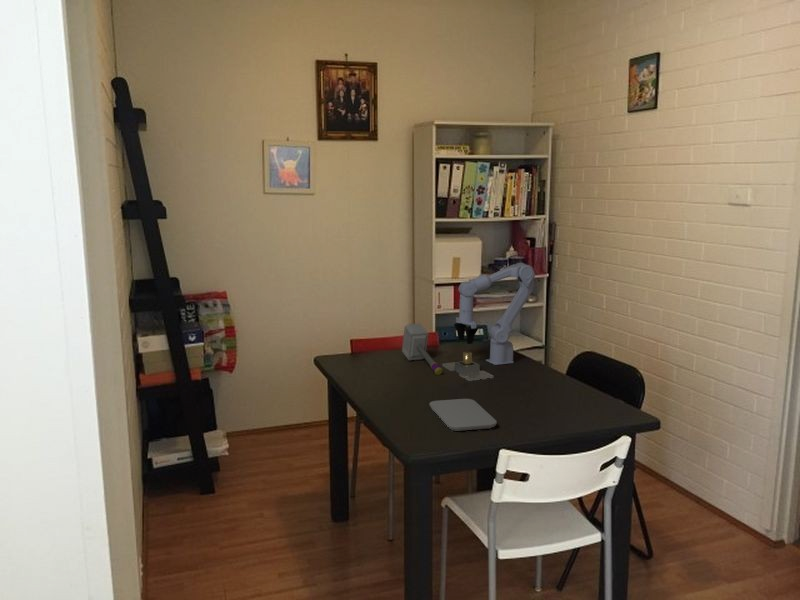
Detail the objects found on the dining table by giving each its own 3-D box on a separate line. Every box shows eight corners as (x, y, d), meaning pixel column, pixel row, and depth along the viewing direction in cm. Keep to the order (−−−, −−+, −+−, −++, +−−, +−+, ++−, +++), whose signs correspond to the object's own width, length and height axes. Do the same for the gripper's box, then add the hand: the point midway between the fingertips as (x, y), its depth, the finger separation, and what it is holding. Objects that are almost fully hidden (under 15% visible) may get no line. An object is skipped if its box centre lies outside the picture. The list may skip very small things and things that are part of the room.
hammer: (450, 354, 272) (421, 321, 298) (432, 356, 269) (405, 323, 295) (445, 387, 278) (418, 352, 304) (427, 389, 276) (401, 354, 301)
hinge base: (465, 363, 292) (465, 355, 292) (493, 378, 271) (493, 369, 270) (442, 365, 288) (442, 357, 287) (468, 381, 267) (469, 372, 266)
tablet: (471, 404, 241) (471, 398, 240) (499, 430, 216) (499, 423, 216) (427, 407, 237) (427, 401, 237) (450, 434, 212) (450, 427, 212)
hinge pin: (468, 370, 282) (468, 351, 281) (473, 372, 279) (473, 353, 277) (460, 371, 280) (461, 352, 279) (465, 373, 277) (466, 354, 276)
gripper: (449, 307, 293) (449, 338, 296) (466, 314, 280) (465, 346, 283) (464, 306, 296) (463, 337, 299) (481, 312, 283) (480, 344, 285)
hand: (465, 341), depth 291 cm, fingers open, 7 cm apart
